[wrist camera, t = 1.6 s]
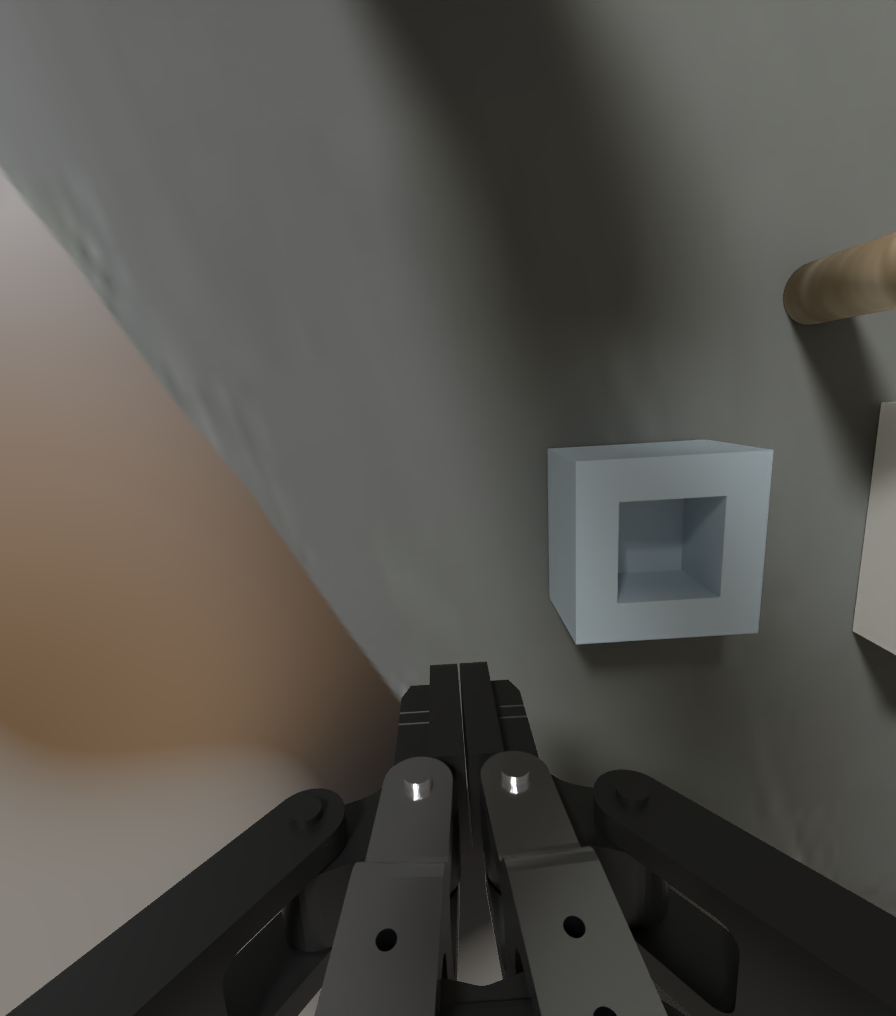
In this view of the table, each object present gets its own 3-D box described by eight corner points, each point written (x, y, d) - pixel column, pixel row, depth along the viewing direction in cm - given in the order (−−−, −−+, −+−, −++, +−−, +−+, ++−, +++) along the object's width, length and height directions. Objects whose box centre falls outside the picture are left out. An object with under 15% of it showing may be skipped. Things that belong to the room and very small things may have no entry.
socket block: (547, 448, 29) (575, 461, 23) (705, 439, 29) (773, 450, 23) (549, 597, 30) (575, 644, 25) (697, 588, 31) (758, 633, 25)
